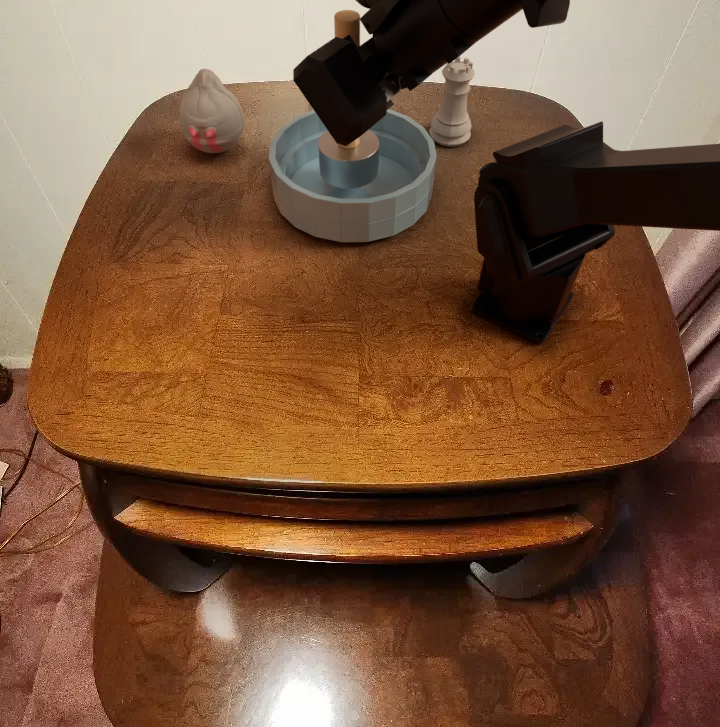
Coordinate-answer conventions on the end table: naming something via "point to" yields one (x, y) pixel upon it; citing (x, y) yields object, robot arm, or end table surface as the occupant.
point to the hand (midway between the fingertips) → (335, 100)
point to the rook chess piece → (453, 105)
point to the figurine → (210, 114)
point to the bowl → (359, 205)
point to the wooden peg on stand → (360, 156)
